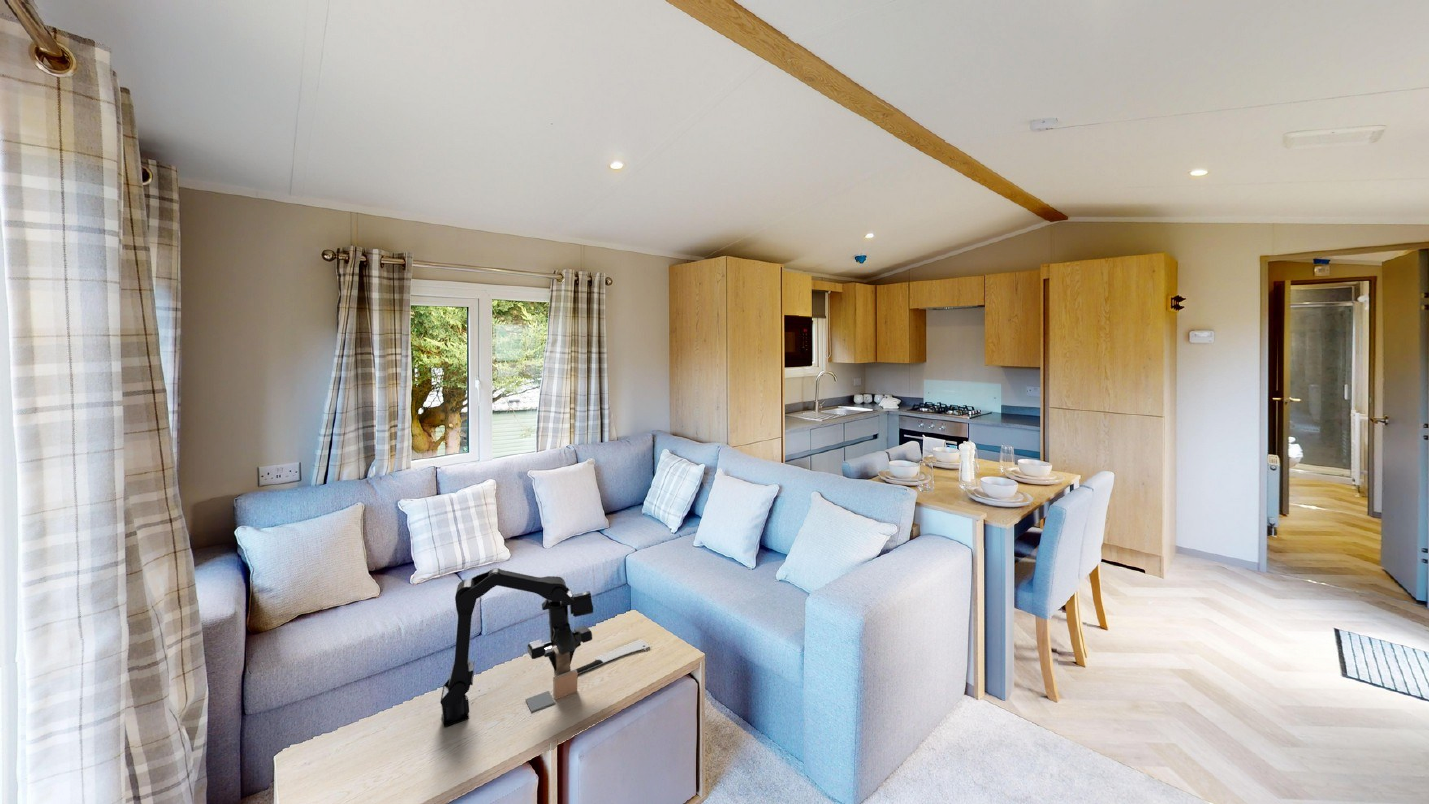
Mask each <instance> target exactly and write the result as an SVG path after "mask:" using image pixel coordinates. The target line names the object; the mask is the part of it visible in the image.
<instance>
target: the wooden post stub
mask: <svg viewBox="0 0 1429 804" xmlns="http://www.w3.org/2000/svg"><path fill="white" fill-rule="evenodd" d="M552 650H553V652H554V653H555V655H554V657H555V663H556V671H555V670H554V669H553V675H554V676H553V677H555V676H558V675H561V674H564V673H566V672H569V671H572V670H571V664H570V652H567V653H565V654H563V655H561V654H559V651H558V649H557V646H555V647H554V648H553V647H552Z"/></svg>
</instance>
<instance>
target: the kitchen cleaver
mask: <svg viewBox="0 0 1429 804" xmlns="http://www.w3.org/2000/svg"><path fill="white" fill-rule="evenodd" d="M650 646H651V645H650V644H648V642H646V641H644V640H643V639H641V638H639V639H637V640H635V641H632V642H630V643H627V644H625V645H621V646H620V647H617V648H615V649H612V650H609V651H607V652H605V653H603V654H600V655H597V656H595V657H593V659H595V660H594V661H591V662H589V663H588V664H586V665H583V666H582V665H581V666H580V667H577V668H575V669H576V670H577V672H578V676H579V675H581V674H584V673H586V672H588V671H591V670H594V669H596V668H597V667H600V666H603V664H605V663H607V662H609V661H612V660H614V659H617V658H620V657H623V656H625V655H628V654H632V653H634V652H637V651H642V650H645V649H649V648H650Z"/></svg>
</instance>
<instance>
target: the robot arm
mask: <svg viewBox="0 0 1429 804" xmlns="http://www.w3.org/2000/svg"><path fill="white" fill-rule="evenodd" d="M496 586H499V587H502V588H508V589H513V590H519V591H524V592H528V593H534V594H536V595H538V596H539V597H542V598H543V599H545V600H544V601H543V602H542V604H541V610H542V611H546V610H547V611H548V626H549V638H550V640H548V641H546V642H543V641H542V639H537V640H534V641H531V642H530V641H529V643H528V644H527V646H526V647H527V648H526V649H527V653H528V655H529V657H530V658H531V660H536V659H539V658H542V657H544V658H548V659H549V661H550V664H551V666H552V668H553V671H554V670H555V671H556V663H555V657H554V655H555V653H554V652H553V647H554V648H555V647H557V649H558V651H559V654H561V655H563V654H565V653H567V652H570V665H571V664H572V660H573V657H574V654H575V652H576V650H577V649H578V648H579V647H580V646H581V645H582V644H581V643H583V644H585V643H587V642H590V641H592V640H593V632H592V630H590V628H589V627H588V626H587V625H581V626H579V627H576V628H574V630H573V631H572V629H571V624H570V622H569V612H570V615H572V616H573V617H574V618H576V617H582V616H587V615H592V614H594V605H593V600H592V594H591V591H590V590H589V591H587V590H586V591H584V592H580V593H574V594H573V592H572V590H571V589H570V588H569V587H567V584H566V581H565V580H564V578H563V577H561V576H556V575H555V576H553V575H552V576H548V575H547V576H541V577H538V576H533V575H528V574H523V573H518V572H514V571H508V570H505V569H501V568H498V567H495V568H492V569H490V570H489V571H486V572H482V573H480V574H478V575H475V576H473V577H471V578H467V579H464V580H462V581H461V582H459V583H458V585H457V587H456V590H455V591H456V592H455V597H454V601H455V608H456V613H457V625H456V626H457V627H456V638H455V640H456V642H455V650H454V651H455V653H454V661H453V663H452V668H451V671H450V676H449V679H448V680H447V681H446V682H445V683H444V684H443V687H442V690H441V696H440V702H439V703H440V705H441V720H442V725H443V728H446V727H450V726H453V725H455V724H458V723H461V722H464V721H467V720H468V719H469V718H470V717H469V713H470V703H469V702H470V701H469V697H468V695H466V694H467V693H468V692H469V691H470V688H471V686H473V683H474V675H475V673H474V670H475V660H473V661H470V657H469V655H470V645H471V642H470V640H471V632H472V631H471V629H472V618H473V612H474V609H475V607H476V603H477V600H478V599H479V598H481V597H483V596H484V595H485V594H487V593H488V592H490V590H492V589H493V588H495V587H496ZM568 607H569V608H568Z"/></svg>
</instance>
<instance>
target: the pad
mask: <svg viewBox="0 0 1429 804" xmlns="http://www.w3.org/2000/svg"><path fill="white" fill-rule="evenodd" d="M525 702H526V705H527V707H528V709H529V711H530V713H534V712H537V711H540V710H541V709H545V708H547V707H551V706H552V705H555V704H556V702H555V699H554V697H553V695H551V692H550V691H549V690H545V691H544V692H541V693H538V694H536V695H533V696H530V697H527V698H525Z"/></svg>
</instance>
